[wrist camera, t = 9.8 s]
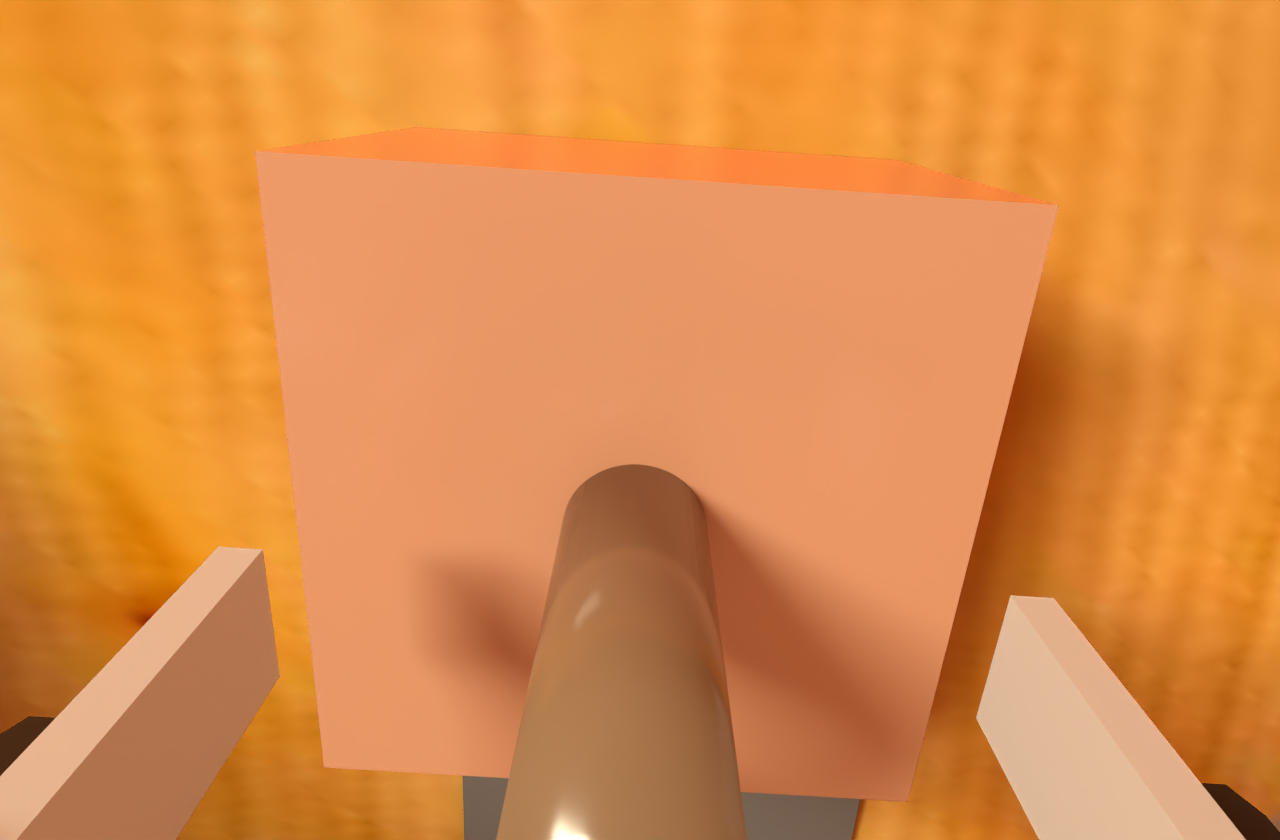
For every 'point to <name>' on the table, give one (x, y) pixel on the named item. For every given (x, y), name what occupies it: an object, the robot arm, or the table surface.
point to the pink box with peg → (637, 460)
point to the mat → (775, 823)
